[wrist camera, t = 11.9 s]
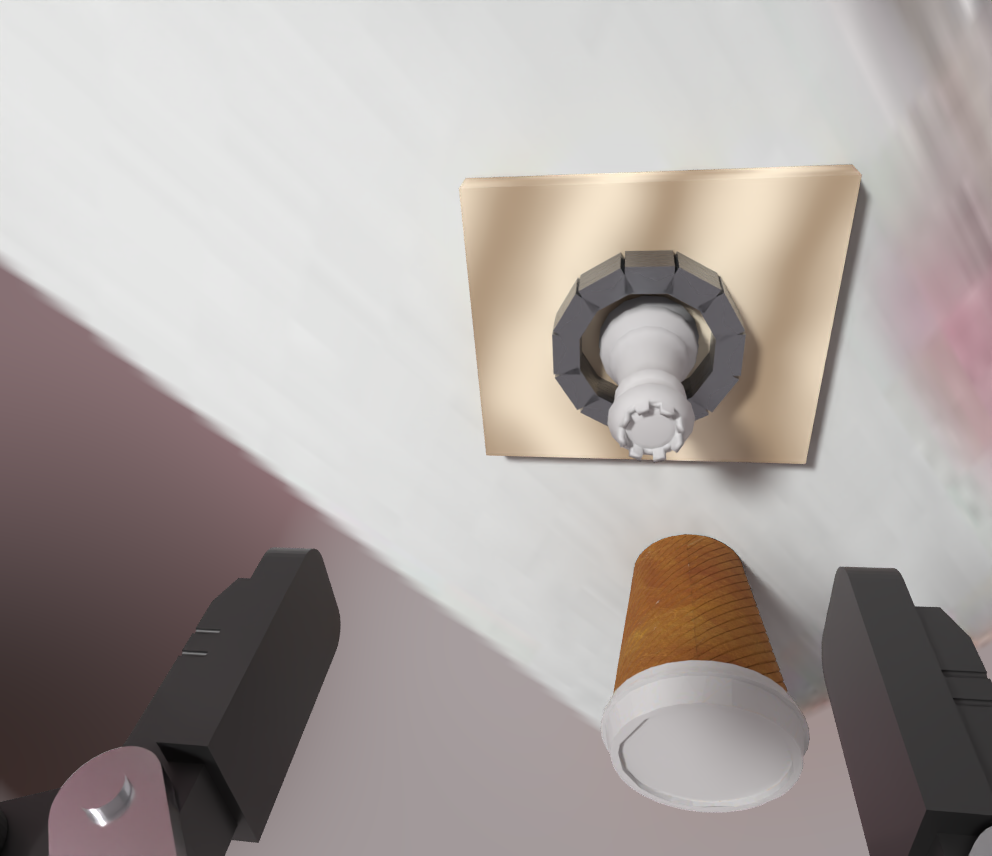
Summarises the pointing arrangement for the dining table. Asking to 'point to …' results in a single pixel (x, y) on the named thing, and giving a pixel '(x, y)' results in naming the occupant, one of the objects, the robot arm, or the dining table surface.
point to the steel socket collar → (648, 277)
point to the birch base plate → (649, 227)
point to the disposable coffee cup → (700, 686)
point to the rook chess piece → (649, 374)
